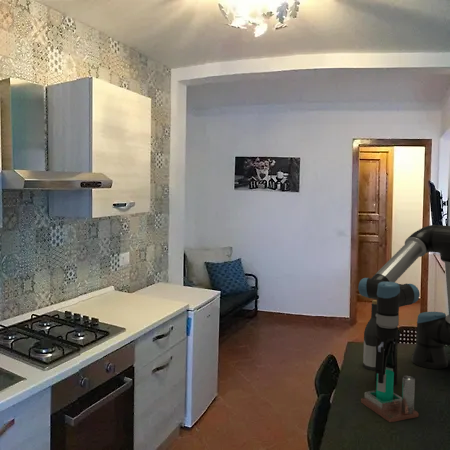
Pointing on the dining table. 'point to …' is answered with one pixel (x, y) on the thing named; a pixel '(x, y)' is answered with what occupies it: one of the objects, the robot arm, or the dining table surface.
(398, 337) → the container
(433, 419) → the dining table surface
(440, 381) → the dining table surface
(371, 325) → the wine bottle
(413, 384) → the brown stand with post
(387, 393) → the candle
